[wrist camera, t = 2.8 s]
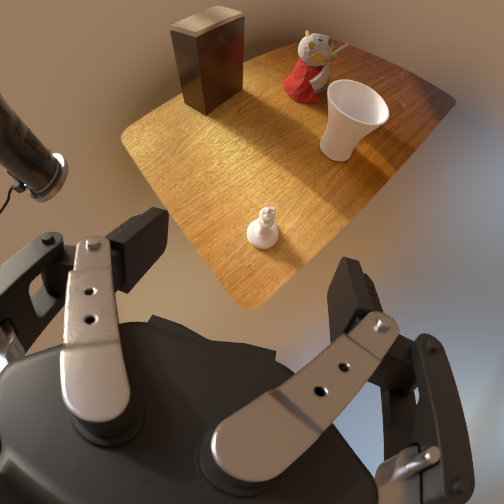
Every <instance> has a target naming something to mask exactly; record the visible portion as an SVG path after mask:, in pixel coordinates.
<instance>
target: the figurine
mask: <svg viewBox="0 0 504 504" xmlns="http://www.w3.org/2000/svg"><path fill="white" fill-rule="evenodd" d="M349 44H350V43H347V44H345V45H344V46H342V47H341V48H339V49H338V50H336V51H335V52H334V53H333V52H332V50H333V46H334V43H333V42H332V40H331V39H330V37H329V36H326V35H321V34H312V35H310V32H309V31H306V37H304V38H303V39H302V40H301V42H300V43H299V47H298V53H299V56H300V58H299V60H298V62H297V64H296V66H295V67H294V70H293V72H292V74H290V75H289V76H287V77H286V78H285V80H284V88H285V91H286V92H287V94H288V95H289V96H290V97H292V98H293V99H294V100H295V101H298V102H304V103H319V100H318V96H317V93H319V92H321V91H324V90H325V89H327V87H328V85H329V82H330V78H331V76H330V72H329V69H328V66H327V65H329V64H330V63H331V62H332V61H333V59H334V57H335V56H336V55H335V54H337V53H338V52H339V51H341V50H342V49H344V48H345V47H347V46H348V45H349ZM329 60H330V61H329ZM328 61H329V62H328Z"/></svg>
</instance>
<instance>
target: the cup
mask: <svg viewBox="0 0 504 504" xmlns="http://www.w3.org/2000/svg"><path fill="white" fill-rule="evenodd" d="M327 96H328V124H327V128H326V131H325V134H324V135H323V137H322V138H321V140H320V149H321V151H322V152H323V153H324V155H326V156H327V157H328V158H330V159H332V160H334V161H340V162H341V161H346V160H348V159H349V158H350V156H351V154H352V151H353V149H354V148H355V146H356V145H357V144H358V142H359V141H360V140H361V139H362V138H363V137H364V136H366V135H367V134H369V133H370V132H372V131H373V130H374V129H376V128H378V127H379V126H381V125H382V124H384V123H385V122H386V121H387V120H388V117H389V109H388V107H387V105H386V103H385V101H384V100H383V99H382V97H381V96H380V95H379V94H378V93H377V92H375V91H374V90H372V89H371V88H369V87H368V86H366V85H364V84H362V83H359V82H356V81H351V80H338V81H335V82H333V83H331V84H330V85H329V87H328V91H327Z"/></svg>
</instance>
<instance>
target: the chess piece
mask: <svg viewBox="0 0 504 504" xmlns="http://www.w3.org/2000/svg"><path fill="white" fill-rule="evenodd" d="M275 210H276V209H275V207H271V206H268V207H265V208H263V209H262V210H261V211H260V217H259V219H256V220H254V221H253V222H252V223H251V224H250V225H249V227H248V229H247V238H248V240H249V242H250V243H251V244H252V245H253V246H254V247H256V248H259V249H268V248H270V247H272V246H273V245H274V244H275V243H276V242H277V240H278V236H279V232H278V228H277V226H276V224H275V223H274V218H275Z"/></svg>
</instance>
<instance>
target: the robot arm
mask: <svg viewBox="0 0 504 504" xmlns="http://www.w3.org/2000/svg"><path fill="white" fill-rule="evenodd" d="M0 165H2V166H3V167H4V168H5V169H6V170H7V172H8V174H9V175H10V176H12V177H13V178H14V179H15V181H14V184H13V185H12V187H11V188H10V190H9V192H8V198H7V200H6V202H5V204H4V205H3V207H2V208H1V209H0V214H1V212H2V211H3V210H4V208H5V207H6V205H7V204H8V202H9V200H10V194H11V191H12V190H13V189H14V190H15V191H17V192H18V193H21V192H24V191H25V190H26V188H27V189H28V190H29V191H33V192H34V193H36V194H40V193H43V192H45V191H46V190H47V189H49V188H50V187H51V185H52V184H53V183H54V181H55V180H56V178H57V176H58V173H59V170H60V163H59V161H58V159H57V158H56V157H54V156H53V155H52V152H51V150H50V149H49V150H48V149H47V148H46V147H45V146H44V145H43V144H42V143H41V141H40V140H39V139H38V138H37V137H36V136H35V135H34V134H33V133H32V131H31V130H30V129H29V128H28V127H27V126H26V125H25V123H24V122H23V121H22V120H21V119H20V118H19V116H18V115H17V114H16V113H15V112H14V111H13V109H12V108H11V107H10V106H9V105H8V103H7V102H6V101H5V100H4V98H3V96H2V95H1V94H0ZM168 221H169V213H168V211H167V210H163V209H159V208H155V207H152V208H150V209H149V210H147V211H146V212H144V213H143V214H142V215H141V214H140V215H137V216H134V217H131V218H130V219H128V220H127V221H125V222H124V223H123V224H121V225H120V226H119V227H117V228H116V229H114V230H113V231H112V232H110V233H109V234H108V235H106V236H105V237H101V236H91V237H87V238H84V239H82V240H81V241H80V242H78V244H77V246H69V245H64V243H63V237H62V235H61V234H60V233H57V232H48V233H44V234H41V235H40V236H38V237H36V238H35V239H34V240H33V241H31V242H30V243H28V244H27V245H26V246H24V247H23V248H22V249H21V250H19V251H18V252H17V253H15V254H14V255H13V256H12V257H11V258H9V259H8V260H7V261H6V262H5V263H3V264H2V265H1V266H0V504H465V503H466V502H467V501H468V500H469V499H470V498H471V496H472V494H473V491H474V487H475V479H474V469H473V462H472V454H471V448H470V442H469V436H468V431H467V426H466V421H465V417H464V413H463V409H462V405H461V401H460V397H459V394H458V390H457V386H456V383H455V380H454V376H453V373H452V370H451V367H450V364H449V361H448V358H447V356H446V353H445V350H444V347H443V346H442V344H441V343H440V342H439V340H437V339H436V338H435V337H433V336H432V335H429V334H425V333H423V334H420V335H419V336H418V337H417V339H416V340H415V341H412V340H410V339H408V338H406V337H404V336H402V335H400V334H399V327H398V325H397V323H396V322H395V321H394V319H392V318H391V317H390V316H388V315H387V314H385V313H383V310H382V307H381V304H380V301H379V298H378V297H377V296H378V295H377V292H376V290H375V286H374V283H373V282H372V280H371V279H370V278H369V276H368V275H367V274H364V273H363V271H362V268H361V265H360V263H359V261H357V260H353V259H350V258H346V257H342V259H341V260H340V263H339V265H338V267H337V270H336V272H335V275H334V277H333V279H332V282H331V284H330V286H329V290H328V294H327V303H328V313H329V326H330V340H331V344H330V345H329V346H328V347H327V348H326V349H325V350H323V351H322V352H321V353H320V354H319V355H318V356H316V357H315V358H314V359H313V360H312V361H311V362H309V363H308V364H307V365H305V366H304V367H303V368H302V369H301V370H299V371H298V372H297V373H296V374H295V373H294V372H293V371H291V370H290V369H289V368H287V367H286V366H284V365H282V364H281V363H279V362H277V361H275V356H276V351H273V350H269V349H265V348H261V347H257V346H253V345H250V344H245V343H234V342H222V341H212V340H209V339H206V338H205V337H203V336H201V335H199V334H197V333H195V332H194V331H192V330H190V329H188V328H187V327H185V326H183V325H181V324H178V323H175V322H172V321H170V320H167V319H164V318H161V317H158V316H155V315H152V316H151V318H150V319H149V321H148V322H147V323H146V322H127V323H122V324H119V318H118V312H117V304H116V297H115V293H116V292H117V290H119V291H122V292H124V293H127V294H128V293H129V292H130V291H131V289H132V288H133V287H134V286H135V285H136V283H137V282H138V281H139V280H140V279H141V278H142V277H143V275H144V274H145V273H146V272H147V271H148V270H149V269H150V268H151V266H152V265H153V264H154V263H155V262H156V261H157V260H158V259H159V257H160V256H161V255H162V254H163V253H164V251H165V248H166V245H167V236H168ZM40 273H41V277H42V281H43V285H42V286H41V287H40V288H39V289H38V290H37V291H36V293H34V294H33V296H31V297H30V295H29V286H30V283H31V282H32V280H34V279H35V278H36V277H37V276H38V275H39V274H40ZM64 305H65V314H64V342H63V344H60V345H57V346H54V347H51V348H48V349H46V350H43V351H39V352H36V353H34V354H30V355H27V356H25V354H26V352H27V351H28V350H29V348H30V347H31V346H32V344H33V343H34V342H35V340H36V339H37V338H38V337H39V335H40V334H41V333H42V331H43V330H44V329H45V328H46V327H47V325H48V324H49V323H50V322H51V320H52V319H53V318H54V317H55V316H56V314H57V313H58V312H59V311H60V310H61V309H62V307H63V306H64ZM367 381H368V382H370V383H373V384H375V385H377V386H380V390H381V401H382V414H383V433H384V462H382V463H381V464H380V466H379V467H378V469H377V471H376V475H375V478H374V477H373V476H372V475H371V473H370V472H369V470H368V469H367V468H366V467H365V465H364V464H363V463H362V462H361V460H360V459H359V458H358V456H357V455H356V454H355V452H354V451H353V450H352V448H351V447H350V446H349V444H348V443H347V442H346V440H345V439H344V438H343V436H342V435H341V434H340V432H339V431H338V429H337V428H336V427H335V425H334V424H333V423H332V422H333V421H334V420H335V419H336V418H337V417H338V416H339V414H340V413H341V412H342V411H343V410H344V409H345V408H346V406H347V405H348V404H349V403H350V402H351V400H352V399H353V398H354V397H355V396H356V394H357V393H358V392H359V390H360V389H361V388H362V387H363V385H364V384H365V383H366V382H367ZM417 387H418V390H419V401H418V404H417V405H416V400H415V394H414V390H415V389H416V388H417Z"/></svg>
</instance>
